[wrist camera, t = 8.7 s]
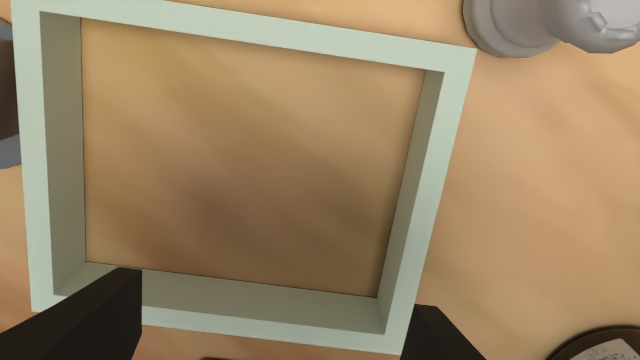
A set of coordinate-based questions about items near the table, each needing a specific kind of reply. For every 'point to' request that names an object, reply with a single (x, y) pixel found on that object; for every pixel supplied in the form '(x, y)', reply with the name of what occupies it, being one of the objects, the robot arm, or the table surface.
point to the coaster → (9, 149)
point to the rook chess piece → (551, 25)
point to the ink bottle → (604, 346)
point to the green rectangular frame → (206, 292)
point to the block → (8, 91)
